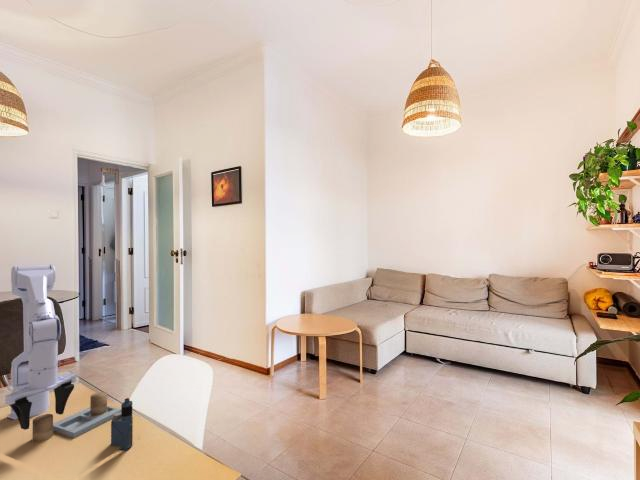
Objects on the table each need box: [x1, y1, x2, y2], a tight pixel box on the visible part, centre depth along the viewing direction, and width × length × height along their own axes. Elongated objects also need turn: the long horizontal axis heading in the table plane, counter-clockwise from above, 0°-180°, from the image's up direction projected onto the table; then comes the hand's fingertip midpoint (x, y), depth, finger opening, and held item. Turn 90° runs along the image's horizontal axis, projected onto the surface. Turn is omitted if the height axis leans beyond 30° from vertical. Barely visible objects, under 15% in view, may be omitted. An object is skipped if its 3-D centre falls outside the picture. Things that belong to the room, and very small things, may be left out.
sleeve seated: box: [89, 391, 108, 418], centre depth 95 cm, size 4×4×6 cm
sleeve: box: [31, 413, 54, 444], centre depth 84 cm, size 4×4×6 cm
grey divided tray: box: [53, 404, 121, 439], centre depth 92 cm, size 10×13×2 cm
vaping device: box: [110, 397, 134, 452], centre depth 82 cm, size 3×5×12 cm, turn 78°
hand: (43, 420), depth 84 cm, fingers open, 7 cm apart
